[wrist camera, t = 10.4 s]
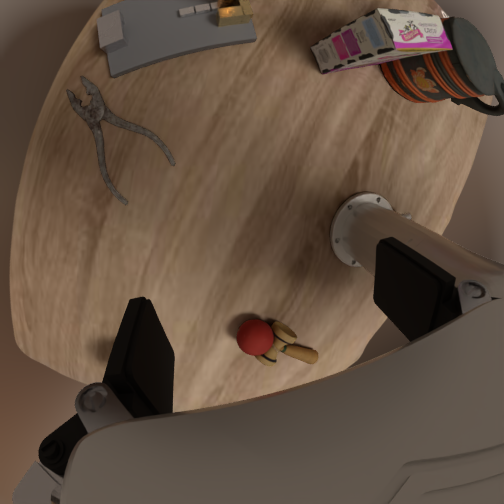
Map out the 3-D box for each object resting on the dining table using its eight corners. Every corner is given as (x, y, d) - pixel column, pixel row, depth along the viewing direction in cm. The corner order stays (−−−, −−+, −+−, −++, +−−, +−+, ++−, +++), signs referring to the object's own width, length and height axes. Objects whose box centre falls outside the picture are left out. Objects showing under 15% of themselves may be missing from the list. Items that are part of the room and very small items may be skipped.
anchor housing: (124, 18, 21) (119, 9, 19) (128, 45, 23) (123, 38, 21) (103, 26, 21) (96, 19, 18) (107, 54, 23) (100, 47, 20)
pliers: (134, 213, 34) (39, 130, 25) (135, 212, 34) (42, 130, 26) (181, 157, 32) (80, 72, 24) (181, 157, 33) (82, 74, 25)
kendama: (321, 331, 51) (253, 303, 42) (333, 357, 46) (262, 335, 37) (294, 352, 54) (224, 330, 45) (303, 377, 49) (229, 361, 40)
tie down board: (236, -20, 22) (237, -25, 21) (254, 42, 28) (256, 38, 26) (104, 13, 21) (101, 9, 20) (114, 78, 26) (111, 75, 25)
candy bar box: (321, 77, 31) (395, 50, 16) (308, 47, 29) (374, 5, 14) (378, 66, 31) (455, 50, 16) (367, 39, 29) (439, 13, 14)
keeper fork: (237, -12, 22) (241, -23, 19) (248, 23, 25) (253, 14, 22) (208, -9, 22) (209, -19, 19) (218, 27, 25) (220, 18, 22)
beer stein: (453, 81, 33) (532, 84, 15) (435, 133, 37) (524, 150, 19) (389, 14, 27) (472, -14, 9) (364, 65, 31) (464, 42, 13)
